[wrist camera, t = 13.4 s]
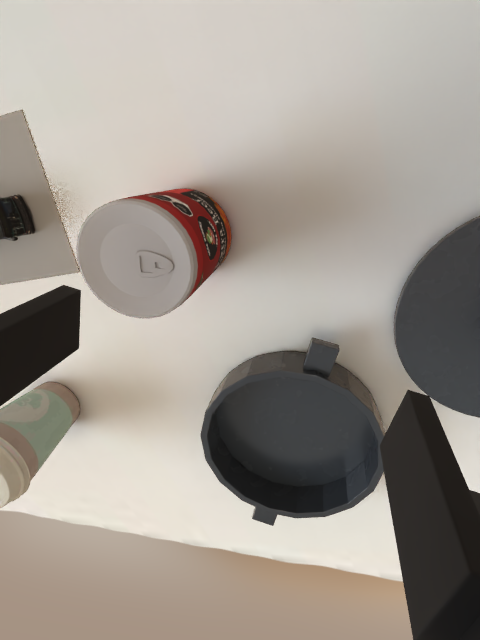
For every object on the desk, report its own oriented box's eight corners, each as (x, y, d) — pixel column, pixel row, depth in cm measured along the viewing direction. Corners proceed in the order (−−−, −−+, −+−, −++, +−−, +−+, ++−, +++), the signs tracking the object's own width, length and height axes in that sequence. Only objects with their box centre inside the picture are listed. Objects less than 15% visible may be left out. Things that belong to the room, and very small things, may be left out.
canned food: (243, 265, 33) (209, 309, 23) (163, 281, 35) (101, 328, 25) (220, 176, 31) (171, 183, 21) (136, 200, 33) (55, 216, 23)
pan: (420, 356, 33) (432, 379, 30) (339, 522, 43) (340, 554, 39) (234, 305, 35) (224, 321, 31) (196, 475, 44) (185, 502, 41)
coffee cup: (86, 377, 42) (4, 452, 31) (94, 436, 45) (22, 522, 34) (20, 366, 43) (-81, 433, 32) (32, 424, 47) (-55, 503, 36)
